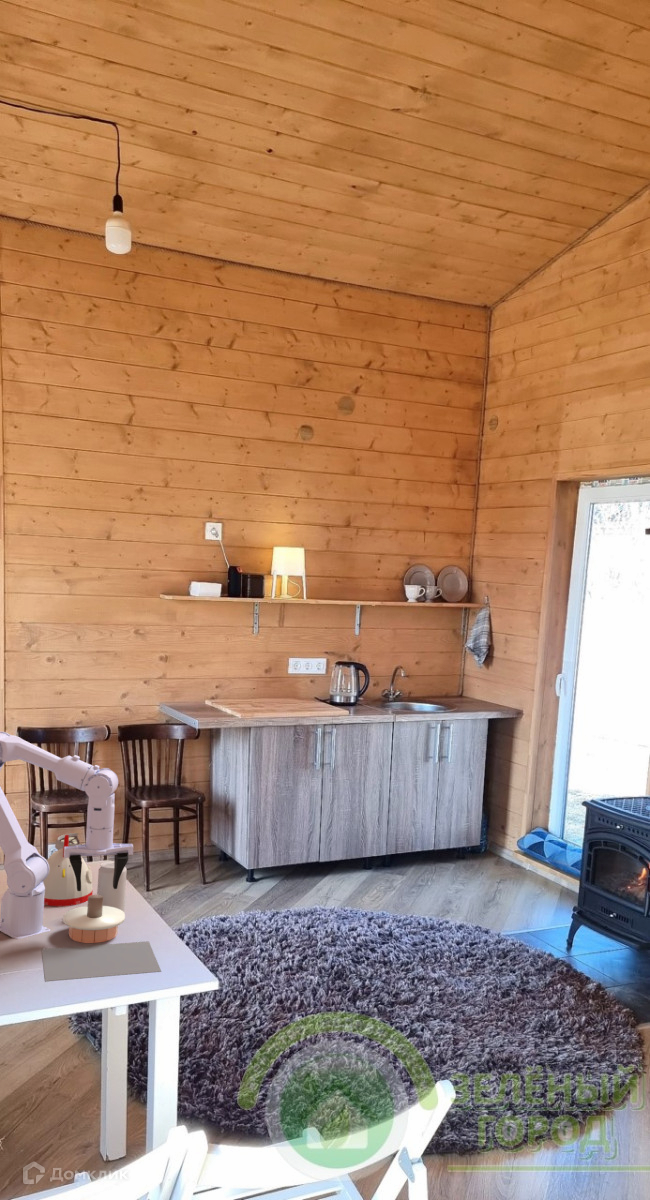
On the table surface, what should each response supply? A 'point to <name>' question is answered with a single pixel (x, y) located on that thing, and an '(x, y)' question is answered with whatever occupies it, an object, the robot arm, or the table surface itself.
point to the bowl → (92, 935)
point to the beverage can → (111, 886)
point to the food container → (72, 841)
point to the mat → (98, 961)
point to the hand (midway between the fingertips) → (97, 888)
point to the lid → (94, 915)
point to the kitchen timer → (66, 881)
